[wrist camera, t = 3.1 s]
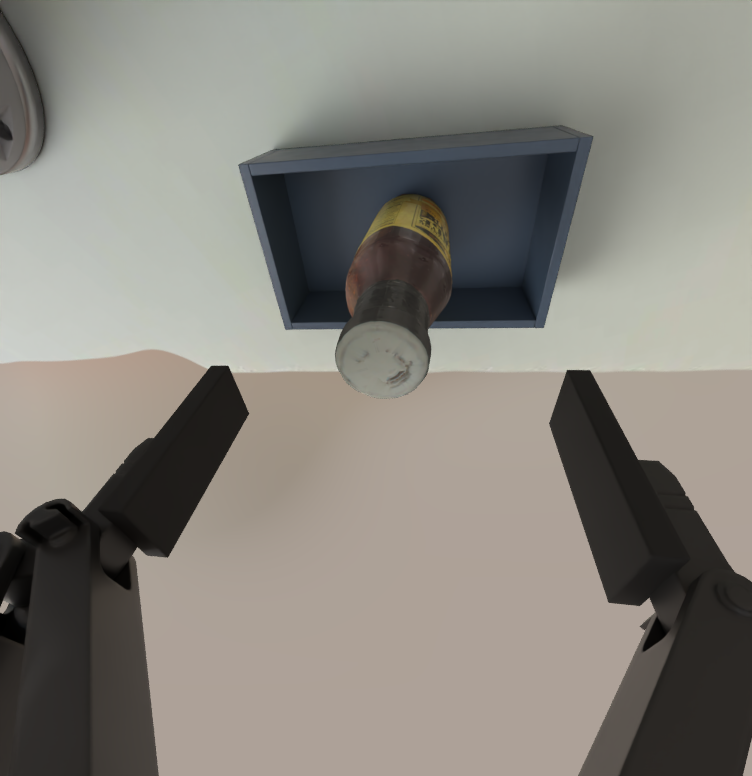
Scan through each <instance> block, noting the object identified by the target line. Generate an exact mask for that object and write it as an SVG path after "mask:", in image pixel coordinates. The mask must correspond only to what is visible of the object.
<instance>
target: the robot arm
mask: <svg viewBox="0 0 752 776" xmlns="http://www.w3.org/2000/svg"><path fill="white" fill-rule="evenodd" d="M43 138H44V115H43V107H42V103H41V98H40V94H39V91H38V87H37V84H36V81H35V78H34V75H33V73H32V70H31V67H30V65H29V63H28V61H27V58H26V56H25V54H24V52H23V50H22V48H21V46H20V44H19V42H18V40H17V38H16V36H15V35H14V33H13V31H12V29H11V27H10V26H9V24H8V23H7V21H6V19H5V18H4V16H3V15H2V13H1V11H0V175H3V174H8V173H12V172H16V171H19V170H22V169H24V168H26V167H28V166H29V165H30V164H31V163H32V162H33V161H34V160H35V159H36V158H37V156H38V154H39V152H40V150H41V147H42V143H43ZM248 415H249V412H248V410H247V408H246V405H245V403H244V401H243V398H242V396H241V394H240V391H239V389H238V387H237V385H236V382H235V380H234V378H233V376H232V373H231V371H230V369H229V366H211V367H210V368H209V369H208V371H207V372H206V374H204V376H203V377H202V378H201V379H200V381H199V382H198V383H197V385H196V386H195V387H194V388H193V390H192V391H191V392H190V393H189V395H188V396H187V397H186V398H185V400H184V401H183V402H182V404H181V405H180V406H179V407H178V409H177V410H176V411H175V412H174V414H173V415H172V416H171V417H170V419H169V420H168V421H167V422H166V424H165V425H164V426H163V428H162V429H161V430H160V431H159V433H158V434H157V435H156V436H155V438H148V439H146V440H145V441H144V442H142V443H141V444H140V445H138V446H137V447H136V448H135V449H134V450H133V451H132V452H131V453H130V454H129V456H128V457H127V458H126V459H125V461H124V464H121V466H120V467H119V468H118V469H117V470H116V473H115V474H113V475H112V476H111V478H110V479H109V480H108V481H107V482H106V484H105V485H104V486H103V487H102V488H101V490H100V491H99V492H98V493H97V495H96V496H95V497H94V498H93V500H92V501H91V502H90V503H89V504H88V506H87V507H86V508H85V509H84V510H83V511H82V512H81V511H80V510H79V509H78V508H77V507H76V506H75V505H74V504H72V503H71V502H70V501H68V500H66V499H55V500H52V501H49V502H46V503H44V504H43V505H41V506H39V507H37V508H35V509H34V510H33V511H32V512H30V513H29V514H28V515H27V516H26V517H25V518H24V519H23V520H22V521H21V522H20V524H19V525H18V527H17V529H16V532H15V534H16V535H18V536H19V537H21V538H22V539H18V538H17V537H15V536H14V535H12V534H11V533H8V532H0V606H1V604H2V601H3V600H4V601H6V602H8V603H9V605H8V607H7V609H6V611H5V612H4V613H3V614H2V613H0V776H159V775H158V766H157V756H156V746H155V737H154V727H153V718H152V708H151V699H150V690H149V680H148V671H147V662H146V652H145V642H144V633H143V623H142V615H141V605H140V596H139V586H138V576H137V568H136V561H135V559H134V557H133V556H132V555H133V553H134V551H135V550H136V548H137V547H138V548H140V549H141V551H143V552H144V553H145V554H146V555H148V556H158V557H168V556H169V555H170V553H171V551H172V549H173V548H174V546H175V544H176V542H177V541H178V539H179V537H180V535H181V533H182V531H183V530H184V528H185V526H186V525H187V523H188V521H189V519H190V517H191V516H192V514H193V512H194V510H195V509H196V507H197V505H198V503H199V501H200V499H201V498H202V496H203V494H204V493H205V491H206V489H207V487H208V485H209V484H210V482H211V480H212V478H213V477H214V475H215V473H216V471H217V470H218V468H219V466H220V464H221V463H222V461H223V459H224V457H225V455H226V453H227V452H228V450H229V448H230V447H231V445H232V443H233V441H234V439H235V438H236V436H237V434H238V432H239V431H240V429H241V427H242V425H243V423H244V422H245V420H246V418H247V416H248ZM549 424H550V427H551V431H552V434H553V437H554V439H555V443H556V445H557V449H558V452H559V455H560V458H561V461H562V463H563V467H564V470H565V473H566V476H567V479H568V482H569V485H570V488H571V491H572V494H573V496H574V500H575V503H576V506H577V509H578V512H579V515H580V518H581V521H582V524H583V527H584V530H585V533H586V536H587V539H588V542H589V545H590V548H591V551H592V554H593V557H594V560H595V563H596V566H597V569H598V572H599V575H600V578H601V581H602V584H603V587H604V590H605V593H606V596H607V599H608V602H609V603H617V604H626V605H636V606H640V605H642V603H644V602H645V601H646V600H647V599H648V598H649V597H650V600H651V602H652V604H653V607H654V609H655V613H654V614H653V615H652V616H651V617H649V618H648V619H647V620H646V621H645V622H644V623H643V624H642V625H641V626H640V627H641V628H642V629H644V630H645V629H646V630H645V633H644V635H643V637H642V639H641V641H640V643H639V646H638V648H637V650H636V652H635V654H634V656H633V659H632V661H631V663H630V665H629V667H628V669H627V671H626V674H625V676H624V678H623V680H622V682H621V685H620V687H619V689H618V691H617V693H616V695H615V697H614V700H613V702H612V704H611V706H610V708H609V710H608V712H607V715H606V717H605V719H604V721H603V723H602V725H601V727H600V730H599V732H598V734H597V736H596V738H595V741H594V743H593V745H592V747H591V749H590V751H589V753H588V756H587V758H586V760H585V762H584V764H583V766H582V769H581V771H580V773H579V775H578V776H743V772H744V768H745V764H746V759H747V756H748V751H749V747H750V743H751V739H752V582H751V581H750V580H748V579H747V578H745V577H743V576H741V575H739V574H737V573H735V572H734V570H733V569H732V568H731V566H730V565H729V564H728V562H727V561H726V559H725V557H724V556H723V554H722V552H721V551H720V549H719V547H718V546H717V544H716V542H715V541H714V539H713V538H712V536H711V534H710V533H709V531H708V529H707V528H706V526H705V524H704V523H703V521H702V519H701V518H700V516H699V514H698V513H697V511H695V510H694V506H693V505H692V503H691V501H690V500H689V498H688V497H687V496H685V491H684V490H683V488H682V487H681V485H680V483H679V481H678V480H677V478H676V477H675V476H674V475H673V474H672V473H671V472H670V471H669V470H668V469H667V468H666V467H665V466H663V465H662V464H661V463H660V462H659V461H647V460H638V459H637V457H636V455H635V453H634V451H633V450H632V448H631V446H630V444H629V442H628V440H627V438H626V437H625V435H624V433H623V431H622V429H621V427H620V425H619V423H618V422H617V420H616V418H615V416H614V414H613V412H612V410H611V409H610V407H609V405H608V403H607V401H606V399H605V397H604V396H603V393H602V392H601V390H600V388H599V386H598V384H597V382H596V381H595V379H594V377H593V375H592V373H591V371H590V370H567V372H566V375H565V378H564V381H563V384H562V387H561V390H560V393H559V396H558V399H557V402H556V405H555V408H554V411H553V414H552V417H551V420H550V423H549Z"/></svg>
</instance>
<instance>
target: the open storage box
mask: <svg viewBox="0 0 752 776" xmlns="http://www.w3.org/2000/svg"><path fill="white" fill-rule="evenodd" d="M592 140H593V136H590V135H588V134H585V133H582V132H579V131H576V130H574V129H571V128H568V127H565V126H562V125H560V126H549V127H537V128H525V129H513V130H501V131H490V132H478V133H466V134H454V135H442V136H431V137H419V138H407V139H395V140H383V141H371V142H360V143H348V144H336V145H324V146H312V147H301V148H289V149H277V150H271V151H268V152H266V153H264V154H262V155H259V156H257V157H255V158H252V159H250V160H248V161H246V162H243V163H241V164H239V165H238V166H239V169H240V173H241V176H242V180H243V183H244V187H245V190H246V194H247V197H248V201H249V204H250V208H251V211H252V215H253V218H254V222H255V225H256V229H257V232H258V235H259V239H260V242H261V246H262V249H263V253H264V256H265V260H266V263H267V267H268V270H269V274H270V277H271V281H272V284H273V288H274V291H275V295H276V298H277V302H278V305H279V309H280V312H281V316H282V319H283V323H284V326H285V329H286V330H292V329H343V328H344V326H345V324H346V323H347V322H348V321H349V319H351V318H352V316H351V314H350V312H349V309H348V307H347V299H346V290H345V288H346V280H347V275H348V272H349V269H350V267H351V265H352V262H353V260H354V257H355V255H356V252H357V250H358V248H359V247H360V245H361V243H362V241H363V239H364V237H365V236H366V234H367V232H368V230H369V229H370V226H371V225H372V223H373V221H374V219H375V217H376V216H377V214H378V212H379V211H380V210H381V208H382V207H383V206H384V205H385V203H387V202H388V201H390V200H392V199H393V198H396V197H397V196H399V195H402V194H418V195H421V196H424V197H426V198H430V199H432V200H433V201H434V202H435V204H436V205H437V206H438V207H439V208H440V209H441V210H442V212H443V214H444V216H445V218H446V221H447V224H448V231H449V243H450V255H451V271H452V291H451V296H450V299H449V301H448V303H447V305H446V307H445V308H444V309H443V310H442V312H441V313H440V314H439V316H438V317H437V318H436V319H435V321H434V322H433V323H432V325H431V326H430V327H429V328H534V327H535V328H544V325H545V321H546V317H547V314H548V310H549V306H550V302H551V298H552V294H553V290H554V287H555V283H556V279H557V275H558V271H559V267H560V263H561V260H562V256H563V252H564V248H565V244H566V240H567V236H568V233H569V229H570V225H571V221H572V217H573V213H574V209H575V206H576V202H577V198H578V194H579V190H580V186H581V182H582V179H583V175H584V171H585V167H586V163H587V159H588V155H589V152H590V148H591V144H592Z"/></svg>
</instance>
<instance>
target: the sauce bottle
mask: <svg viewBox="0 0 752 776" xmlns="http://www.w3.org/2000/svg"><path fill="white" fill-rule="evenodd" d="M345 290H346V299H347V307H348V309H349V312H350V314H351V316H352V318H351V319H349V321H348V322H347V323H346V324H345V326H344V328H343V330H342V332H341V334H340V337H339V340H338V343H337V347H336V352H335V359H336V365H337V368H338V370H339V372H340V373H341V375H342V377H343V378H344V380H345V381H346V383H347V384H349V385H350V386H351V387H352V388H353V389H355V390H356V391H358V392H361V393H364V394H366V395H368V396H371V397H374V398H382V399H387V398H398V397H401V396H404V395H406V394H408V393H410V392H412V391H413V390H415V389H416V388H417V386H418V385H419V384H420V383H421V382H422V381H423V379H424V378H425V377H426V375H427V372H428V369H429V363H430V357H431V344H430V339H429V336H428V329H429V327H430V326H431V325H432V323H433V322H434V321H435V319H436V318H437V317H438V316H439V314H440V313H441V312H442V310H443V309H444V308H445V307H446V305H447V303H448V301H449V299H450V296H451V291H452V271H451V255H450V243H449V231H448V224H447V221H446V218H445V216H444V214H443V212H442V210H441V209H440V208H439V207H438V206H437V205H436V204H435V202H434V201H433V200H432V199H430V198H426V197H424V196H421V195H418V194H402V195H399V196H397V197H396V198H393V199H392V200H390V201H388V202H387V203H385V205H384V206H383V207H382V208H381V210H380V211H379V212H378V214H377V216H376V217H375V219H374V221H373V223H372V225H371V226H370V229H369V230H368V232H367V234H366V236H365V237H364V239H363V241H362V243H361V245H360V247H359V248H358V250H357V252H356V255H355V257H354V260H353V262H352V265H351V267H350V269H349V272H348V275H347V280H346V288H345Z"/></svg>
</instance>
